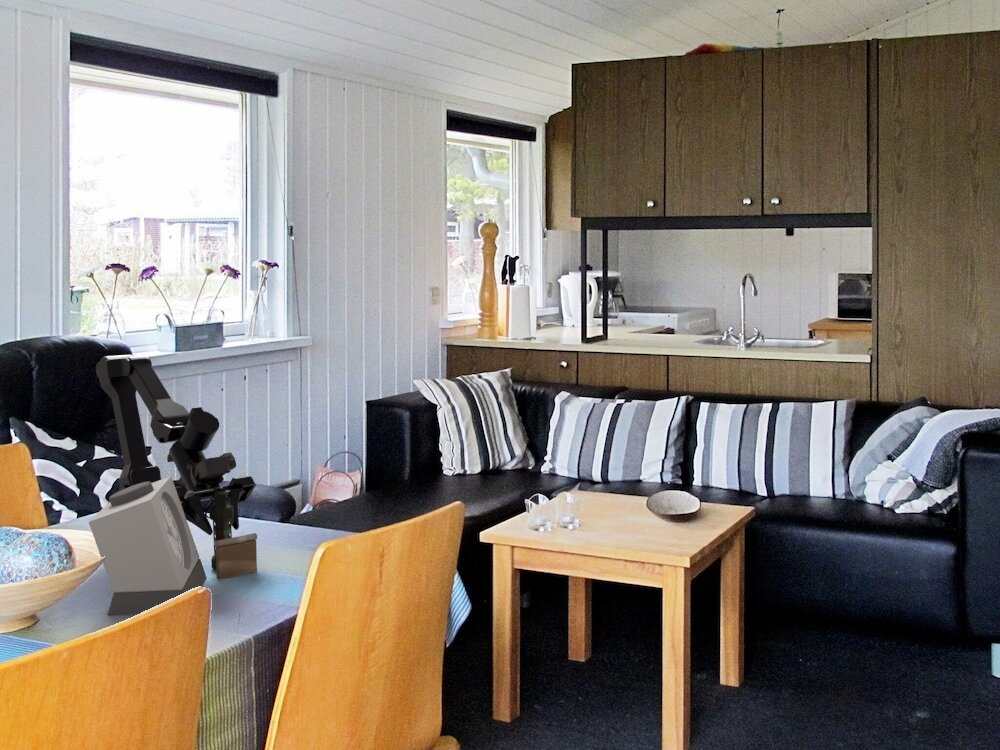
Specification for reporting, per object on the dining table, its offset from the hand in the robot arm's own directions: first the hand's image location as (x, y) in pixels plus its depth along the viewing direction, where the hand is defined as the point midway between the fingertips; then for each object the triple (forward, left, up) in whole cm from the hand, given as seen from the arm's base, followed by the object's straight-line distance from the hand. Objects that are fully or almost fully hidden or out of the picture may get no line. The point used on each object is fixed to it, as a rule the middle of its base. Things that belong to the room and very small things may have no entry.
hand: (224, 531), depth 214 cm
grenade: (-1, -1, -8) cm, 8 cm away
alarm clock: (+13, -13, -8) cm, 20 cm away
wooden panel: (+4, +2, -8) cm, 9 cm away
